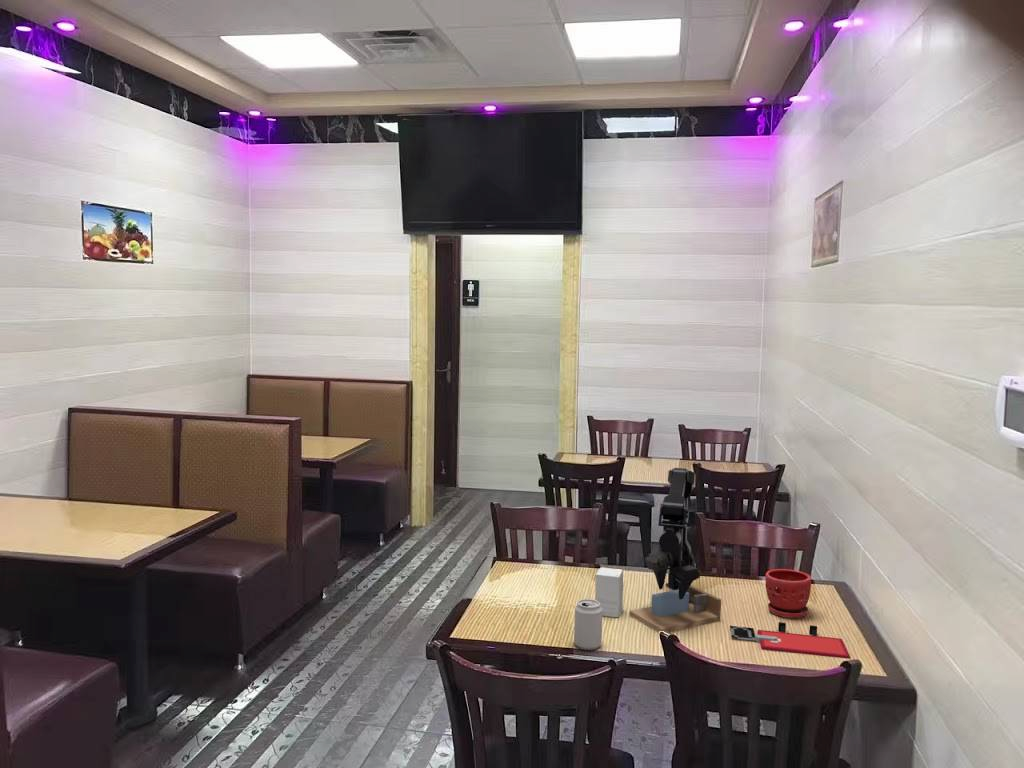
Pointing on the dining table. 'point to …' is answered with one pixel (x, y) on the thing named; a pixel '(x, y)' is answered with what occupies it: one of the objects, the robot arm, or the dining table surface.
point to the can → (588, 624)
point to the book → (669, 603)
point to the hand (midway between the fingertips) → (670, 594)
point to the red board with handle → (793, 641)
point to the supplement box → (609, 591)
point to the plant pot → (788, 592)
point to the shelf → (684, 613)
